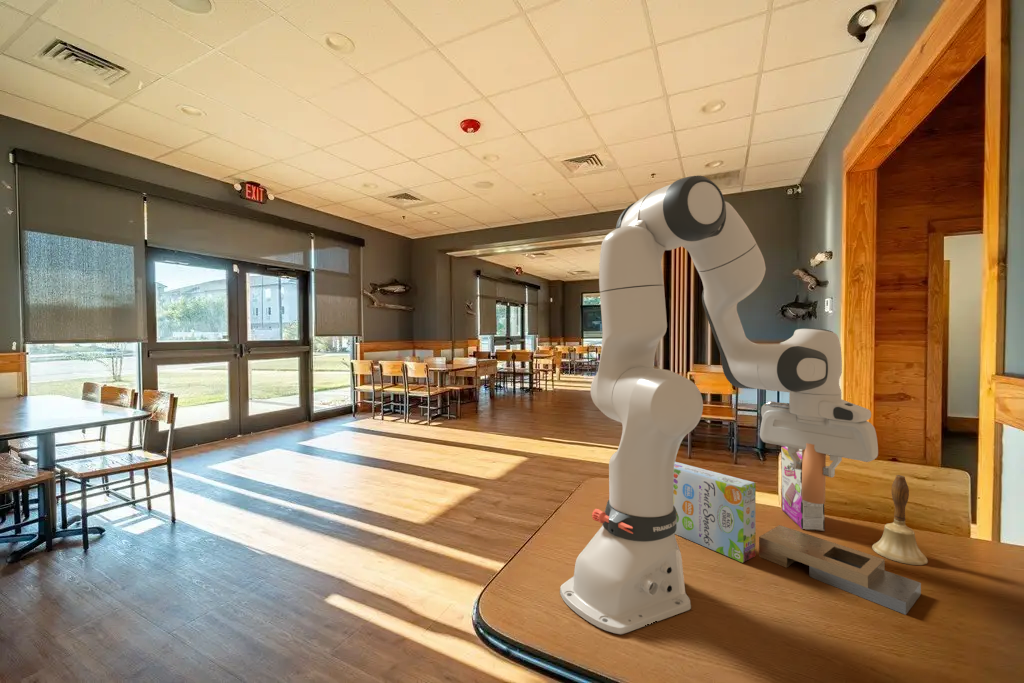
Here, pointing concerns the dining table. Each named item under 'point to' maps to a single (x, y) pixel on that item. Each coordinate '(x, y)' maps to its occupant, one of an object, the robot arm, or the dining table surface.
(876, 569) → the chain end upper
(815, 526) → the candy bar box
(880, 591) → the chain end lower
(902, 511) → the hand bell
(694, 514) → the snack box
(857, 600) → the dining table surface
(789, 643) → the dining table surface
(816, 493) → the pin
